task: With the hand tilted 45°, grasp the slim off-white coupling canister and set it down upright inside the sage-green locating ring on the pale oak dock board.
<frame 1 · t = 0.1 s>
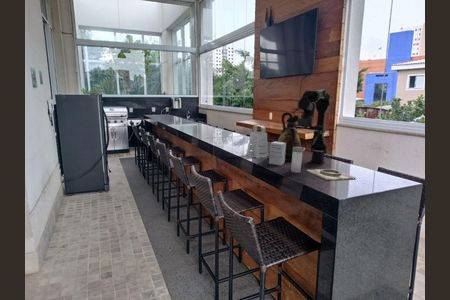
hand: (302, 144, 140), 15 cm above the countertop, tool pointing down, fingers open, 9 cm apart
supplement box: (276, 163, 162), on the countertop
coupling canister: (295, 171, 146), on the countertop
grater: (257, 156, 182), on the countertop
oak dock: (330, 175, 142), on the countertop
ceramic jug: (286, 158, 177), on the countertop
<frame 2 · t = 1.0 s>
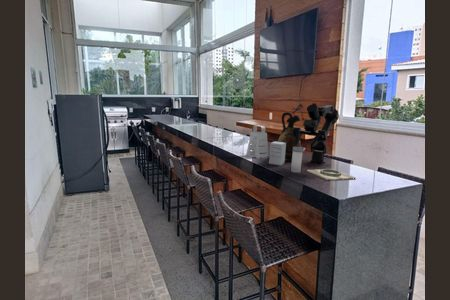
hand: (304, 145, 150), 13 cm above the countertop, tool tilted 45°, fingers open, 9 cm apart
nothing on the countertop moved.
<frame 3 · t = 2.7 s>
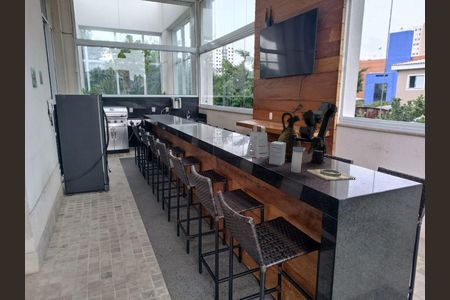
hand: (299, 152, 146), 10 cm above the countertop, tool tilted 45°, fingers open, 9 cm apart
nothing on the countertop moved.
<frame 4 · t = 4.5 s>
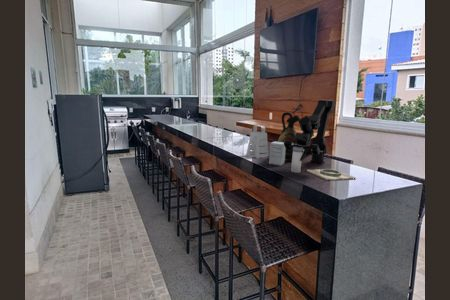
hand: (295, 159, 144), 7 cm above the countertop, tool tilted 45°, fingers closed on coupling canister, 5 cm apart
coupling canister: (295, 171, 146), on the countertop, touching gripper
everything else where it was.
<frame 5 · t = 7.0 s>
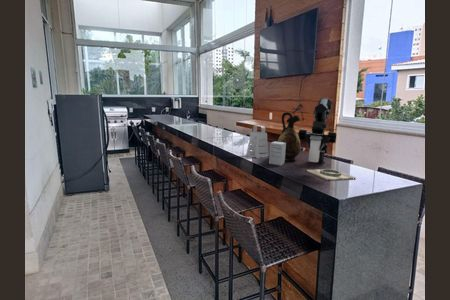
hand: (314, 148, 139), 13 cm above the countertop, tool tilted 45°, fingers closed on coupling canister, 5 cm apart
coupling canister: (313, 161, 142), point 7 cm above the countertop, touching gripper
everything else where it was.
when the fingers open (8 cm above the countertop, at t = 9.5 s): coupling canister stays where it is, resting on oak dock.
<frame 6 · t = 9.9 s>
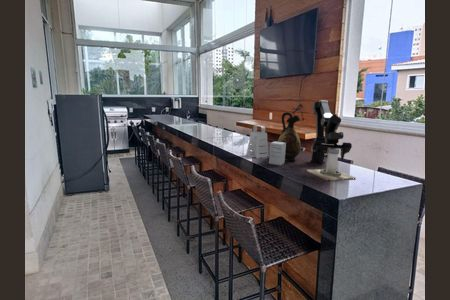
hand: (332, 160, 139), 8 cm above the countertop, tool tilted 45°, fingers open, 9 cm apart
coupling canister: (330, 173, 142), point 1 cm above the countertop, touching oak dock
everything else where it was.
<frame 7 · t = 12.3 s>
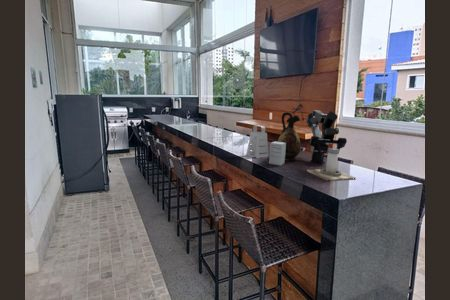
hand: (328, 154, 148), 10 cm above the countertop, tool tilted 45°, fingers open, 9 cm apart
nothing on the countertop moved.
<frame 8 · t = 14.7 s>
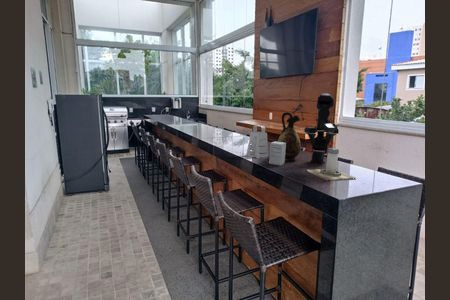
hand: (319, 145, 153), 13 cm above the countertop, tool pointing down, fingers open, 9 cm apart
nothing on the countertop moved.
at the end: coupling canister 0.1 cm off-centre on the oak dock, point 0.8 cm above the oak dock's base; coupling canister tilted 0°; the gripper is holding nothing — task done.
